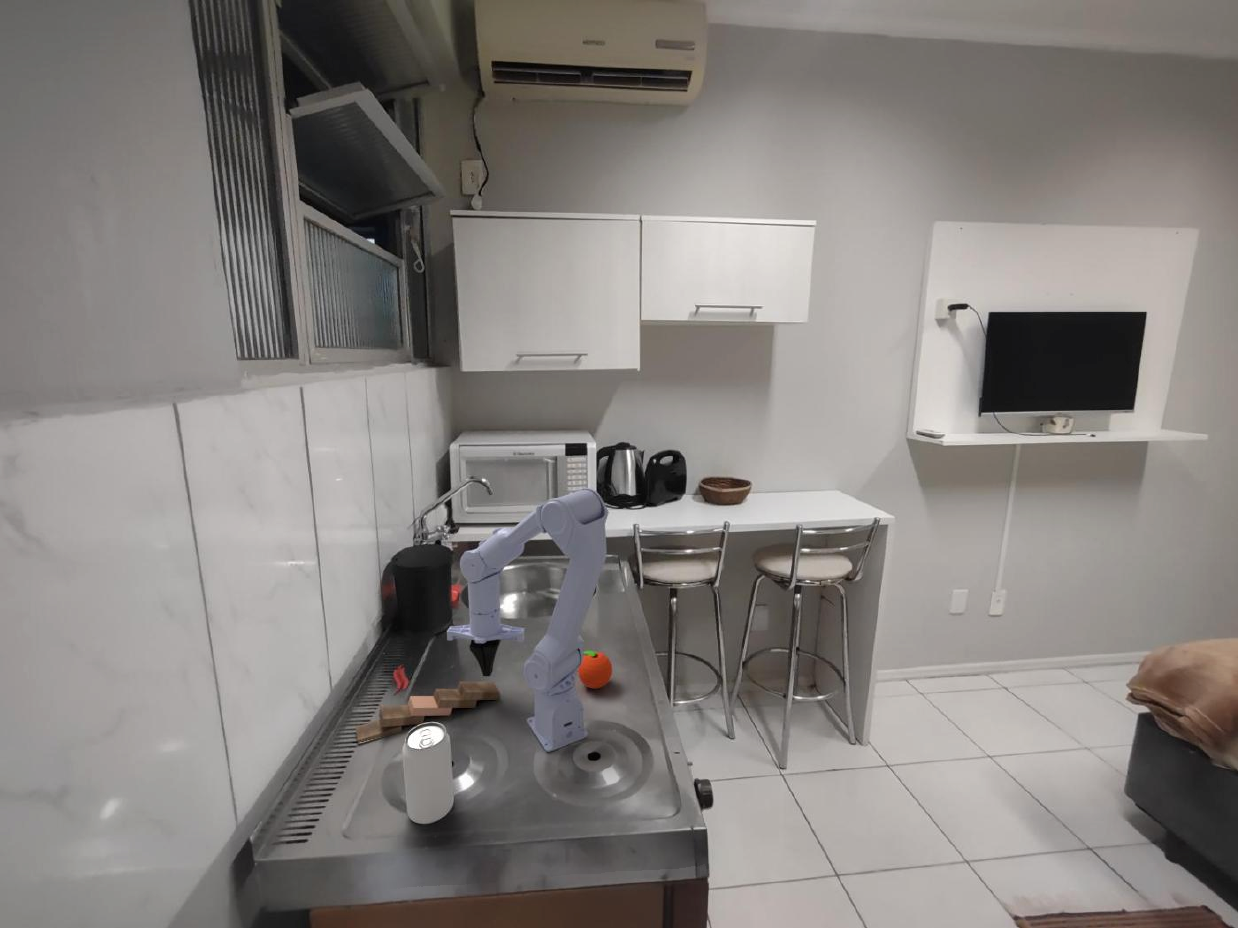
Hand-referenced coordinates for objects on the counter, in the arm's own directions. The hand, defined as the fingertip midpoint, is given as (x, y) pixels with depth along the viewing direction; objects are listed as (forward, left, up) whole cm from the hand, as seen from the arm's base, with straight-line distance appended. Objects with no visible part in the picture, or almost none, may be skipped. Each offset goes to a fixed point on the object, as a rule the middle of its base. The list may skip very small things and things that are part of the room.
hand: (487, 673), depth 104 cm
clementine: (-7, -20, -5) cm, 21 cm away
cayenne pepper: (+15, +14, -6) cm, 21 cm away
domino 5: (0, -1, -4) cm, 4 cm away
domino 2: (0, +13, -4) cm, 13 cm away
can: (-22, +16, -5) cm, 27 cm away
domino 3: (0, +8, -4) cm, 9 cm away
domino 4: (0, +3, -4) cm, 5 cm away
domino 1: (0, +16, -5) cm, 17 cm away
